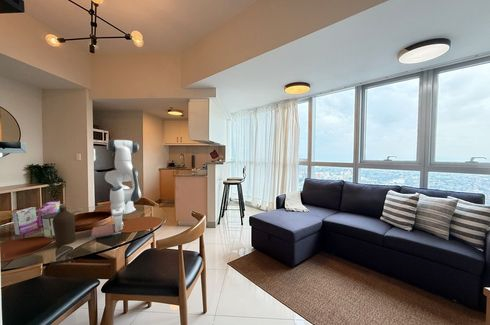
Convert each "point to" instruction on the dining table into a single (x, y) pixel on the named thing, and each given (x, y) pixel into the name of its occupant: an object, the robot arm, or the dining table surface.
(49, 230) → the tissue box
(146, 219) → the dining table surface
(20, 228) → the candy bar box
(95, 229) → the pink block
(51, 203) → the gum box
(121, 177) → the robot arm
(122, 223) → the stub
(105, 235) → the mat
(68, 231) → the olive oil
